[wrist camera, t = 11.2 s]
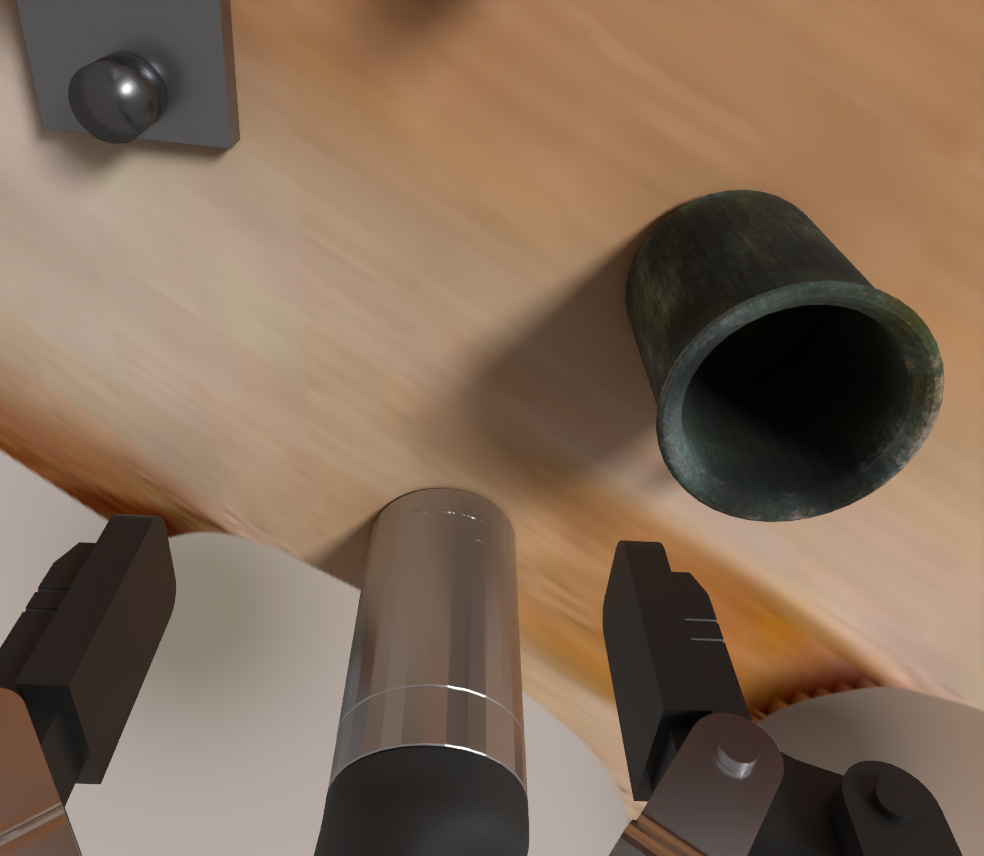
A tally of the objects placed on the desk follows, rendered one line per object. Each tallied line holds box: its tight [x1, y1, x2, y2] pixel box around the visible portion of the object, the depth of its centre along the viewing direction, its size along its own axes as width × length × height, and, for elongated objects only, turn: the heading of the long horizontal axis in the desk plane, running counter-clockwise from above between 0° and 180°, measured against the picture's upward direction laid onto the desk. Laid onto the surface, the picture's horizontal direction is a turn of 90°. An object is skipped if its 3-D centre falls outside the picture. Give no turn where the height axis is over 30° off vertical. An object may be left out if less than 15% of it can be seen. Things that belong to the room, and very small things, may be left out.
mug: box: [626, 190, 944, 522], centre depth 36 cm, size 11×15×12 cm
